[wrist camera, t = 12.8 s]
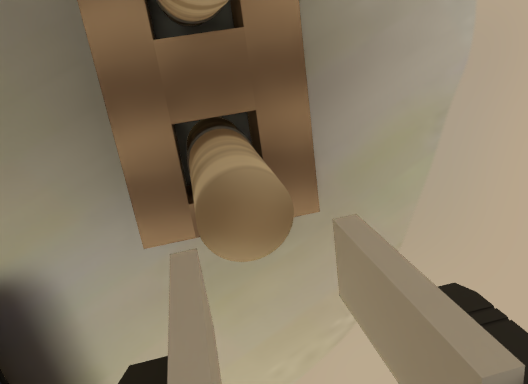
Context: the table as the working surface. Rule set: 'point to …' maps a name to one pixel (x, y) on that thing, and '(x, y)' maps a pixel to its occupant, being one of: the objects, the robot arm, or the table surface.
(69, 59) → the table surface
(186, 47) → the wooden peg block
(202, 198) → the beech peg
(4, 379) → the handheld game console
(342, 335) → the table surface
